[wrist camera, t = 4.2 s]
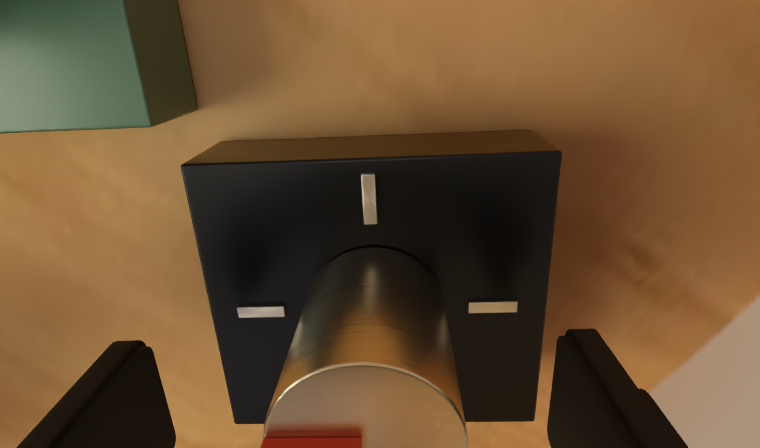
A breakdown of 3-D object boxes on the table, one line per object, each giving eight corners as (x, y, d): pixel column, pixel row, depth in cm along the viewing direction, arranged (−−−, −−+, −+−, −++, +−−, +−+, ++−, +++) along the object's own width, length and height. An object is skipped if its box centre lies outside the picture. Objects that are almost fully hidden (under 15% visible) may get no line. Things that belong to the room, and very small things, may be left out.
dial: (444, 244, 13) (473, 373, 8) (443, 362, 14) (467, 532, 9) (301, 248, 13) (243, 376, 8) (314, 364, 14) (273, 532, 10)
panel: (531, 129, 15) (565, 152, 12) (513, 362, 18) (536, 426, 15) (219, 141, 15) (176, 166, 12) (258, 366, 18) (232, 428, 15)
